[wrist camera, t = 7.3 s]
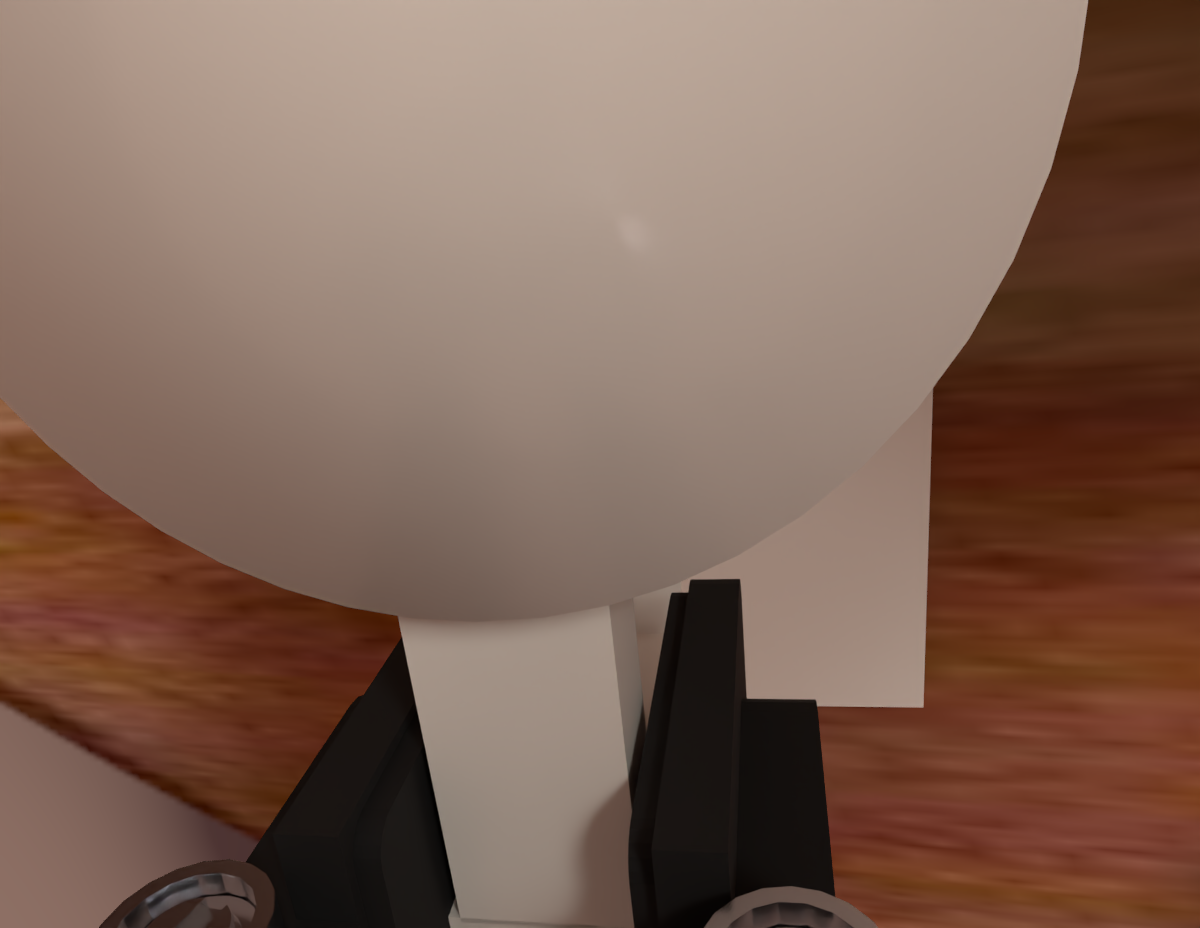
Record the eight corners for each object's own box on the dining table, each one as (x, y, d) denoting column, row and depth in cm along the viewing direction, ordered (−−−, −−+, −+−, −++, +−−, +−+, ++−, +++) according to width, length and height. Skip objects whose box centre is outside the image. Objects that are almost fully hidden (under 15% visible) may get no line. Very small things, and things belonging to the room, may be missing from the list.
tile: (494, 336, 31) (486, 343, 30) (929, 309, 29) (935, 316, 28) (544, 687, 36) (538, 702, 35) (919, 690, 34) (923, 707, 33)
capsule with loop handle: (361, -259, 13) (-646, -1132, 4) (863, -355, 12) (1262, -2033, 2) (490, 546, 18) (189, 1067, 9) (860, 540, 17) (994, 1143, 7)
